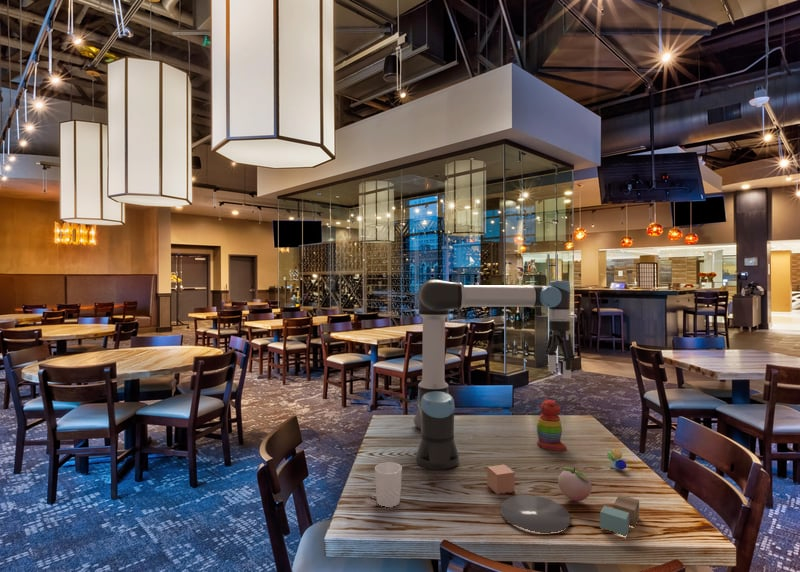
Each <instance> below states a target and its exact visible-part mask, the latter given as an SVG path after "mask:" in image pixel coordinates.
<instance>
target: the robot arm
mask: <svg viewBox="0 0 800 572" xmlns="http://www.w3.org/2000/svg"><path fill="white" fill-rule="evenodd" d="M417 299H418V315H419V316H420V317H421V318H422V369H421V370H422V371H421V374H422V375H421V376H422V379H421V381H419V383H418V386H417V387H418V388H417V389H418V391H417V392H418V394H417V398H416V403H417V405H418V406H417V405H416V406H417V408H419V411H420V414H421V429H420V431H421V433H420V434H421V437H420V442H419V445H418V447H417V451H416V456H415V457H416V459H415V461H416V463H417V465H419V466H421V467H422V468H426V469H428V470H438V471H439V470H449V469H453V468H455V467H457V466H458V465H459V464H460V456H459V452H458V449H457V445H456V442H455V407H456V406H455V400H454V398H453V396H452V395H451V394H449V384H448V383H447V382H446V379H445V375H446V374H445V363H446V361H445V359H446V358H445V357H446V356H445V355H446V352H445V350H446V345H445V344H446V342H445V341H446V318H448V317H449V315H450V310H462V309H463V308H464V307H492V308H494V307H501V308H502V307H504V308H505V307H506V308H507V307H514V308H515V307H519V308H521V307H523V308H524V307H525V308H527V307H530V308H531V307H532V308H541V307H542V308H549V309H548V310H549V311H548V312H549V313H548V314H549V315H548V316H549V317H548V318H549V320H550V321H549V325H548V326H549V327H548V328H549V331H548V339H547V342H546V343H547V344H546V348H545V352H546V354H547V355H548V356H547V357H548V359H547V360H548V364H547V365H548V367H547V370H548V372H549V373H551V372H553V373H554V372H556V370H557V368H556V363H557V361H556V360H557V358H556V355H557V353H556V352H557V349H558V347H559V348H560V350H561V353H562V357H563V359H562V379H566V380H567V379H572V361H575V355H574V350H573V349H574V348H573V345H572V340H571V337H572V336H571V334H569V333H567V332H568V331H570V329H571V323H570V321H569V320H570V318H571V317H570V315H571V313H572V312H571V285H570V282H569V281H568V280H551V281H549V285H531V284H530V285H529V284H527V285H465V284H463V283H462V282H452V281H446V280H442V279H435V278H433V279H427V280H426V281H424V282H422V284H421V285H420V286H419V289H418V291H417Z"/></svg>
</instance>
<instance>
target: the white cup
mask: <svg viewBox="0 0 800 572" xmlns="http://www.w3.org/2000/svg"><path fill="white" fill-rule="evenodd" d="M374 475H375V476H374V477H375V478H374V480H375V481H374V482H375V492H376V503H377V505H378V504H379V505H378V506H380V505H381V506H380V507H382V506H385V507H384V508H386V507H390V508H394V507H393V506H395V507H397V506H398V505H400V502H401V492H402V475H403V466H402V465H400V464H399V463H397V462H393V461H392V462H390V461H389V462H388V461H386V462H381V463H379V464H377V465H375V467H374ZM396 505H397V506H396Z"/></svg>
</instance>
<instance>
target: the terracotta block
mask: <svg viewBox="0 0 800 572" xmlns="http://www.w3.org/2000/svg"><path fill="white" fill-rule="evenodd" d="M486 468H487V469H486V470H487V472H486V474H487V475H486V476H487V478H486V479H487V482H486V483H487V484H486V485H488V486H487V487H488V488H490V489H491V490H492V491H493V492H494V493H495V494H496V495H501V494H500V493H502V494H507V493H506V492H508V493H513V492H512V491H514V492H515V487H516V486H515V479H516V477H515V475H516V474H515V473H516V472H515V471H514V470H513V469H511V467H509V466H507V465H506V464H498V465H489V466H487V467H486Z"/></svg>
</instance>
